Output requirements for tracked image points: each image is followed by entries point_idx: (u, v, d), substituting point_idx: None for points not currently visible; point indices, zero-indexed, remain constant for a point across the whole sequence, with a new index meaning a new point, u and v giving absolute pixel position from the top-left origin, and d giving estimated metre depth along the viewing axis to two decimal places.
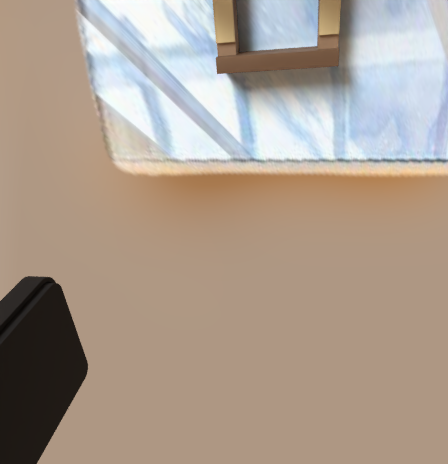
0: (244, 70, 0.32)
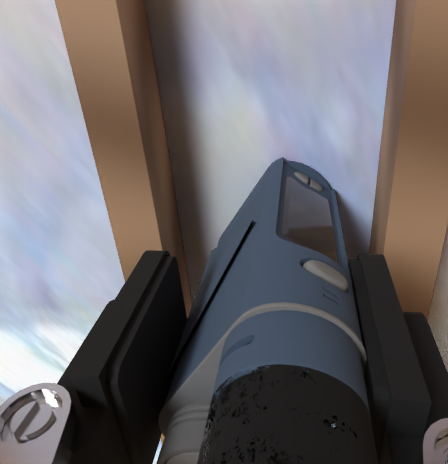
0: None
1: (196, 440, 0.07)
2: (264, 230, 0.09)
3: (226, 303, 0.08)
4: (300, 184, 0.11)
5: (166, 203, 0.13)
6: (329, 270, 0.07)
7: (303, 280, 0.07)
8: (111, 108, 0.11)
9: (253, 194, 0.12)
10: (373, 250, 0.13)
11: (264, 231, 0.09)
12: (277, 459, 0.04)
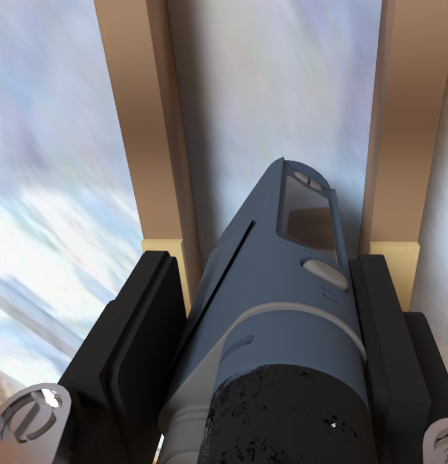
0: None
1: (196, 440, 0.07)
2: (264, 230, 0.09)
3: (226, 303, 0.08)
4: (300, 184, 0.11)
5: None
6: (329, 270, 0.07)
7: (303, 280, 0.07)
8: None
9: (253, 194, 0.12)
10: (381, 46, 0.12)
11: (264, 231, 0.09)
12: (277, 459, 0.04)
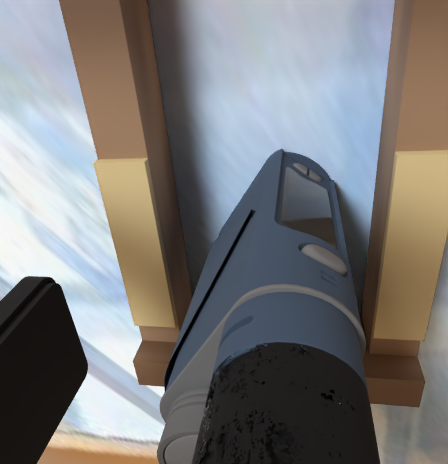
0: None
1: (197, 423, 0.07)
2: (263, 218, 0.09)
3: (226, 289, 0.08)
4: (299, 174, 0.12)
5: None
6: (327, 254, 0.07)
7: (301, 263, 0.07)
8: None
9: (253, 186, 0.13)
10: None
11: (263, 218, 0.09)
12: (275, 430, 0.04)
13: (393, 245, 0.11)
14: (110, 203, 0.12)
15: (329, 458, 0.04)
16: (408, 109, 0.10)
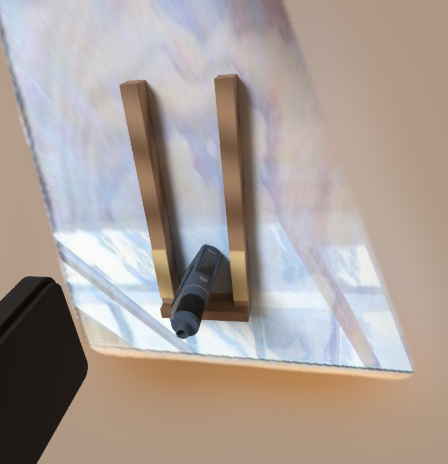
0: None
1: None
2: (194, 269, 0.39)
3: (184, 285, 0.38)
4: (208, 253, 0.41)
5: (157, 174, 0.38)
6: (204, 278, 0.37)
7: (197, 280, 0.37)
8: (140, 144, 0.36)
9: (197, 255, 0.42)
10: None
11: (194, 269, 0.38)
12: (186, 303, 0.34)
13: (233, 273, 0.41)
14: (155, 261, 0.41)
15: (192, 305, 0.34)
16: (230, 241, 0.39)
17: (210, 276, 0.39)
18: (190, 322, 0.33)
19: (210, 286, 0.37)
